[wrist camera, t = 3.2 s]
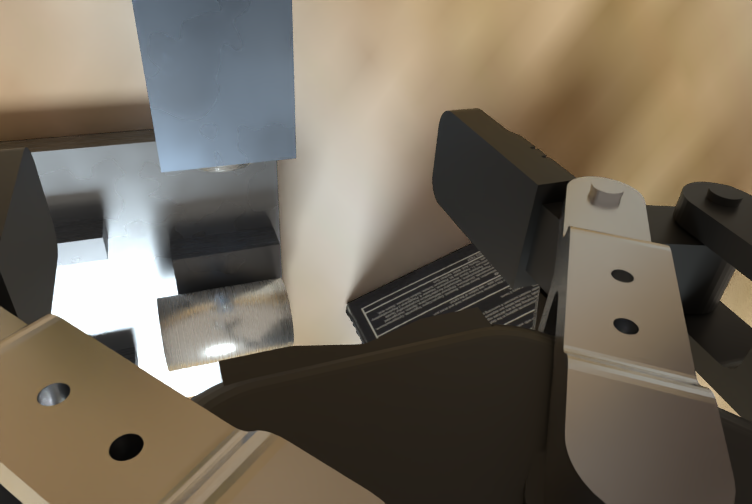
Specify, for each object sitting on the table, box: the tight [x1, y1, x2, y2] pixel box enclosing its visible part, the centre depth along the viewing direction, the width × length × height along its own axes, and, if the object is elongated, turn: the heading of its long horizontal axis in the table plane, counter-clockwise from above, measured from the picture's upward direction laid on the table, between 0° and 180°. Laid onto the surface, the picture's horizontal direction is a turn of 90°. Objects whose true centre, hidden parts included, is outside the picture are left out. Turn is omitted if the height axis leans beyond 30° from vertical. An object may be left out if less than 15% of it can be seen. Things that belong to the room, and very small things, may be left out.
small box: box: [346, 243, 540, 344], centre depth 30 cm, size 11×6×10 cm, turn 106°
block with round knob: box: [132, 0, 296, 172], centre depth 19 cm, size 7×4×7 cm, turn 176°
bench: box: [0, 129, 294, 397], centre depth 23 cm, size 21×14×6 cm, turn 86°
